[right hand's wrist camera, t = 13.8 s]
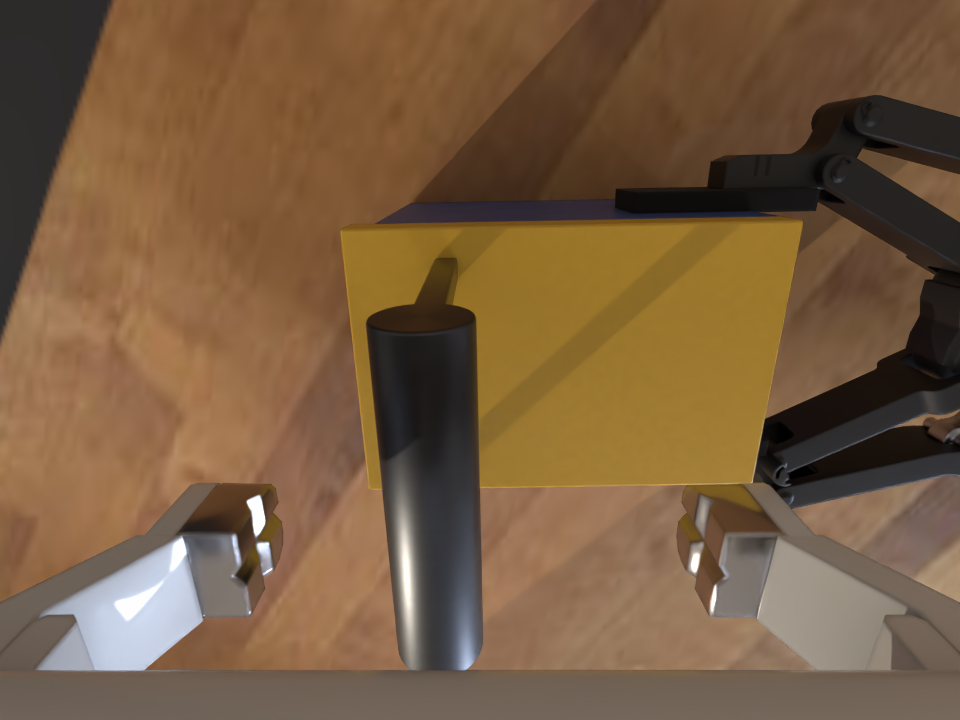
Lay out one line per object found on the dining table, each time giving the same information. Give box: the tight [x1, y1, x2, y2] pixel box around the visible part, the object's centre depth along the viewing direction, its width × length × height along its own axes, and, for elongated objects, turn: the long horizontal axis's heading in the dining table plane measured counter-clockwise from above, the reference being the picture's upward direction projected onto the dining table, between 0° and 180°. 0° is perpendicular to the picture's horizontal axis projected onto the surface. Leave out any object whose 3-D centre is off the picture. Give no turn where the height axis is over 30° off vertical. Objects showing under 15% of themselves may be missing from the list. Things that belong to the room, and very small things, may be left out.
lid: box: [340, 216, 803, 670], centre depth 14 cm, size 14×9×9 cm, turn 91°
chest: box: [376, 199, 778, 224], centre depth 23 cm, size 13×9×10 cm
